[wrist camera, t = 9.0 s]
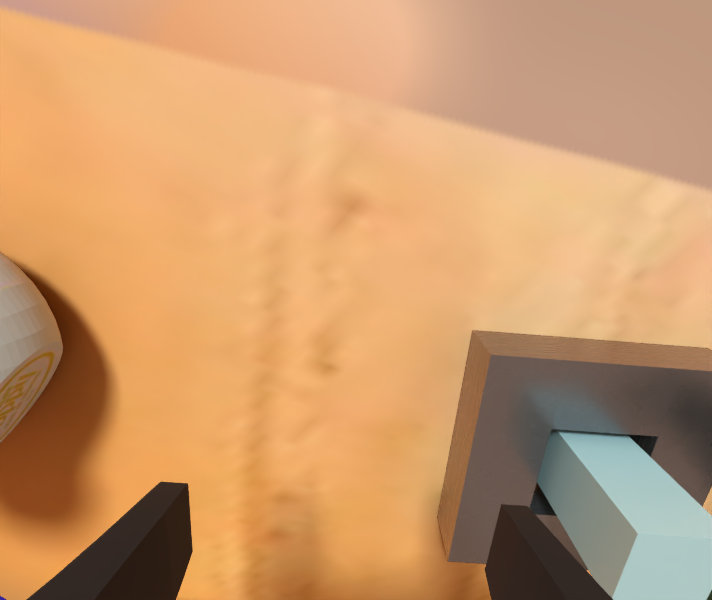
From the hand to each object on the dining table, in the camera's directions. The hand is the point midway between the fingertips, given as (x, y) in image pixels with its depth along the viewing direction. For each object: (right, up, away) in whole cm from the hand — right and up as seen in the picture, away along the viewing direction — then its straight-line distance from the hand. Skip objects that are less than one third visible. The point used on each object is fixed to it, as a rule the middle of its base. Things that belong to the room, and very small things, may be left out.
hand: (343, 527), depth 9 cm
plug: (+11, -2, +10) cm, 15 cm away
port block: (+11, -2, +10) cm, 15 cm away
